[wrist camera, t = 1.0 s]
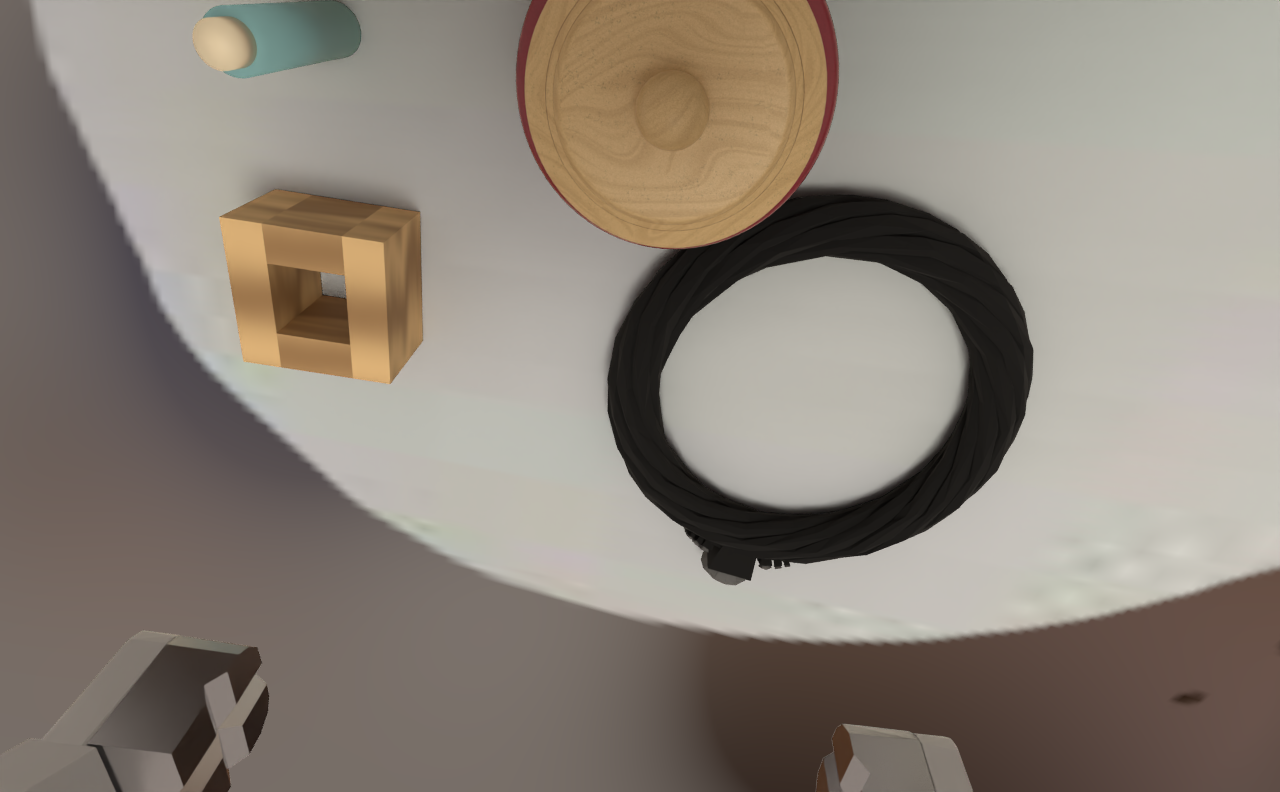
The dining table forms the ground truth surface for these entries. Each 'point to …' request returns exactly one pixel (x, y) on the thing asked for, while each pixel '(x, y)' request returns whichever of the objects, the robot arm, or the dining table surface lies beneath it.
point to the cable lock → (795, 236)
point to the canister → (676, 110)
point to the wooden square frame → (292, 293)
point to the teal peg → (275, 36)
